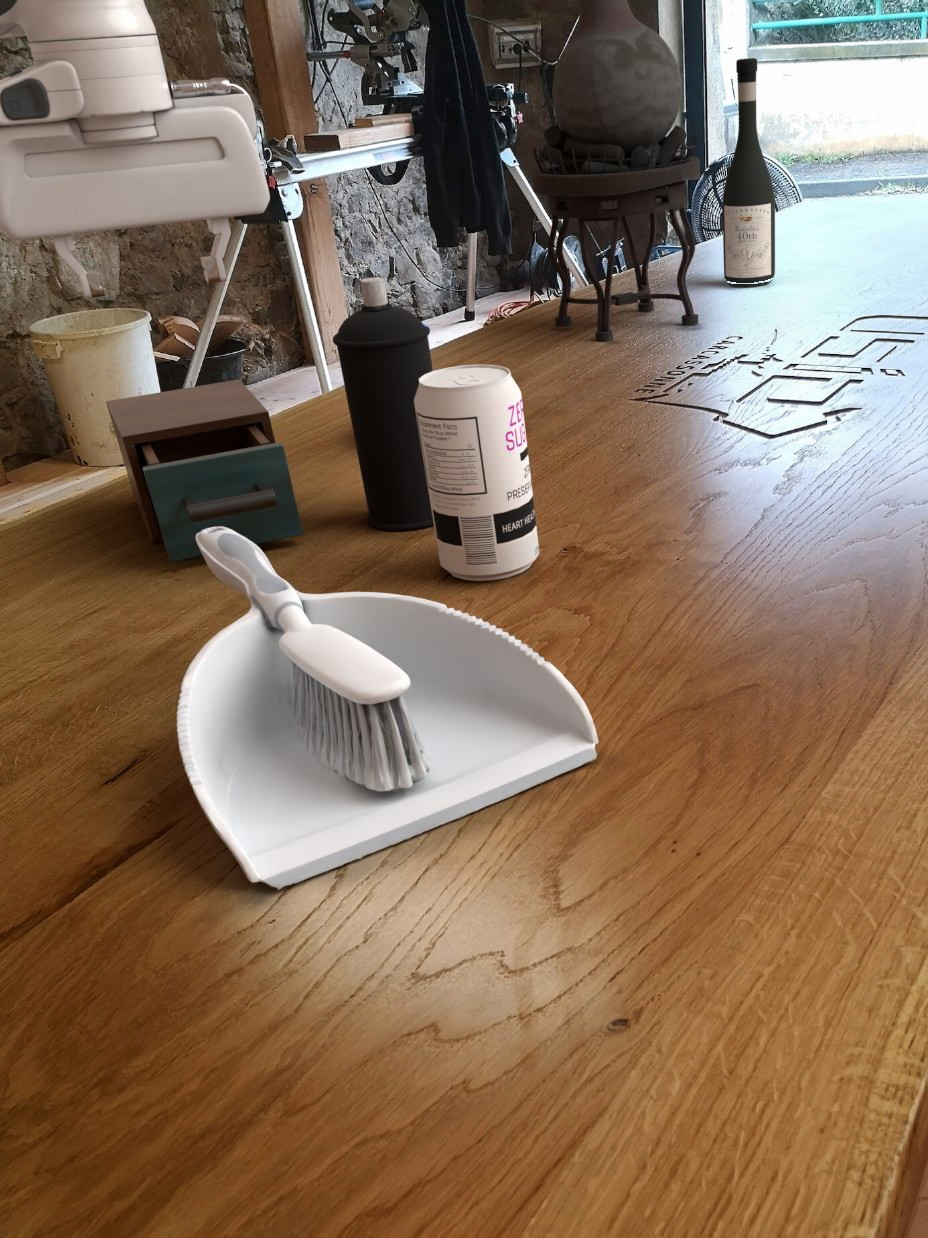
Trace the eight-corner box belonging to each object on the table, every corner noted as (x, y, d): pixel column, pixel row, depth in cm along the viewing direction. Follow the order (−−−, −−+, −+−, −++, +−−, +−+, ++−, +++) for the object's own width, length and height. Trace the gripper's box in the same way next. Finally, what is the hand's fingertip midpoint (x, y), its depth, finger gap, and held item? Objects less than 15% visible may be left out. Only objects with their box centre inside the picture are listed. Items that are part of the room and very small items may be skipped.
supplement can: (431, 558, 105) (400, 372, 96) (524, 540, 107) (502, 357, 98) (453, 591, 98) (422, 395, 90) (552, 571, 100) (531, 378, 92)
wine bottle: (772, 287, 193) (771, 57, 176) (721, 288, 194) (715, 61, 177) (776, 277, 199) (776, 55, 182) (727, 278, 201) (722, 58, 184)
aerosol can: (419, 536, 109) (378, 290, 98) (348, 524, 113) (300, 287, 102) (475, 506, 115) (441, 271, 104) (405, 496, 119) (366, 268, 108)
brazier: (723, 329, 170) (713, -82, 145) (562, 349, 166) (522, -69, 141) (682, 301, 188) (666, -68, 163) (536, 318, 185) (496, -57, 159)
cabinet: (292, 516, 116) (268, 411, 111) (153, 544, 112) (121, 436, 107) (262, 476, 127) (239, 379, 122) (135, 500, 123) (105, 401, 118)
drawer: (315, 550, 105) (295, 458, 101) (178, 579, 102) (150, 485, 97) (272, 493, 119) (253, 410, 115) (150, 517, 116) (125, 432, 111)
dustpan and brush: (254, 904, 65) (207, 745, 59) (79, 692, 87) (33, 563, 82) (616, 754, 75) (604, 608, 70) (376, 600, 98) (352, 480, 93)
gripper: (240, 74, 97) (278, 267, 105) (-44, 95, 90) (20, 299, 98) (255, 76, 92) (294, 278, 100) (-43, 98, 86) (24, 312, 94)
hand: (156, 289), depth 99 cm, fingers open, 8 cm apart
